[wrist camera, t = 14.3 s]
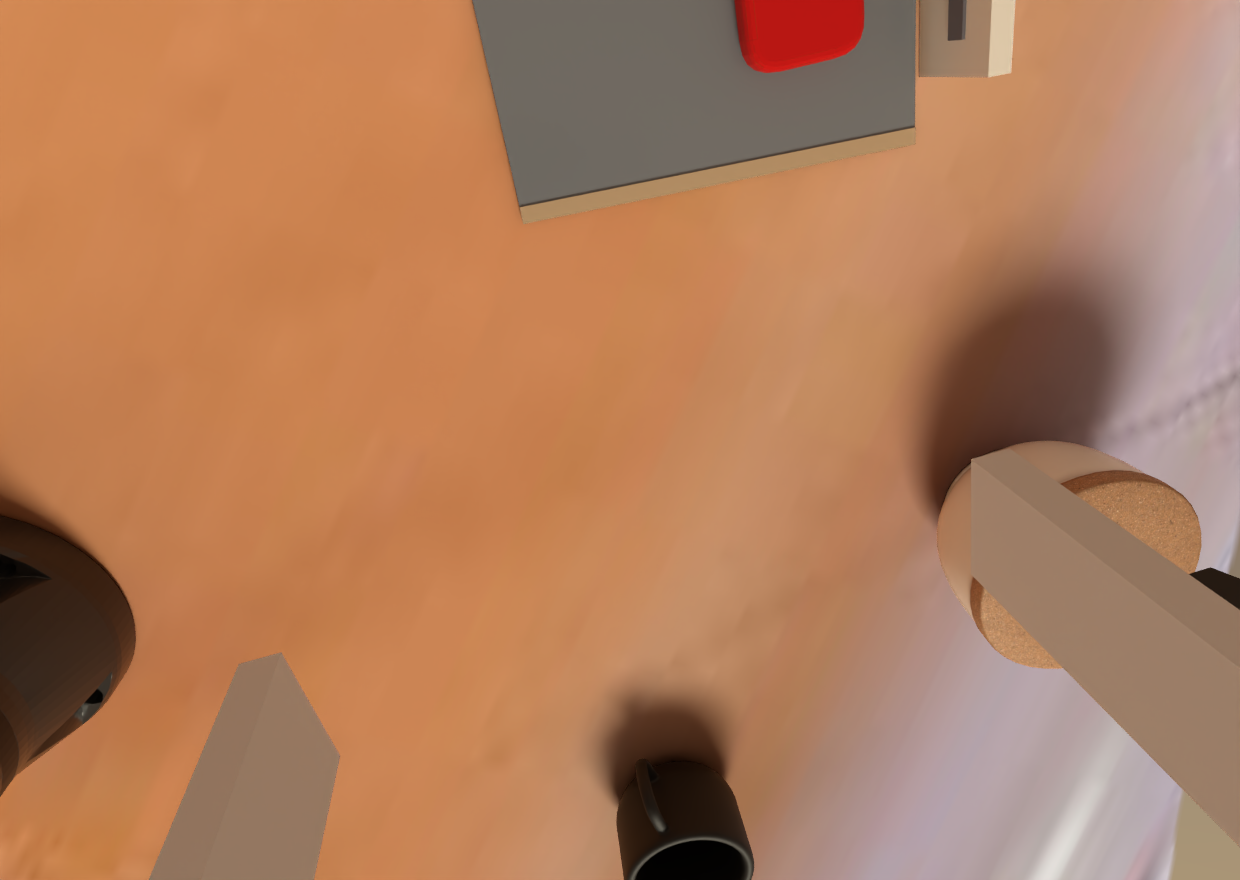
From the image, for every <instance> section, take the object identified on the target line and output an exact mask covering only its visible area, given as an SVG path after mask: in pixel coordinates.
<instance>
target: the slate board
mask: <svg viewBox="0 0 1240 880" xmlns="http://www.w3.org/2000/svg"><path fill="white" fill-rule="evenodd" d="M472 1H473V5H474V9H475V14H476V18H477V22H478V27H479V31H480V36H481V40H482V44H483V49H484V53H485V58H486V62H487V66H488V71H489V75H490V79H491V84H492V88H493V93H494V97H495V101H496V106H497V110H498V114H499V119H500V123H501V128H502V132H503V136H504V141H505V145H506V149H507V154H508V158H509V163H510V167H511V171H512V176H513V180H514V185H515V189H516V193H517V198H518V202H519V206H520V211H521V215H522V220H523V224H526V223H531V222H536V221H541V220H546V219H551V218H556V217H561V216H566V215H571V214H576V213H580V212H585V211H590V210H595V209H600V208H605V207H610V206H615V205H620V204H625V203H630V202H635V201H640V200H644V199H649V198H654V197H659V196H664V195H669V194H674V193H679V192H684V191H689V190H694V189H699V188H703V187H708V186H713V185H718V184H723V183H728V182H733V181H738V180H743V179H748V178H753V177H758V176H763V175H767V174H772V173H777V172H782V171H787V170H792V169H797V168H802V167H807V166H812V165H817V164H822V163H826V162H831V161H836V160H841V159H846V158H851V157H856V156H861V155H866V154H871V153H876V152H881V151H886V150H890V149H895V148H900V147H905V146H910V145H915V144H916V127H915V32H916V0H864V29H863V32H862V36H861V39H860V41H859V42H858V44H857V45H856V47H855V48H854V49H852V50H851V51H850V52H848V53H847V54H846V55H843V56H840V57H837V58H835V59H832V60H827V61H823V62H819V63H815V64H811V65H806V66H802V67H798V68H794V69H790V70H785V71H781V72H773V73H763V72H759V71H755V70H753V69H752V68H751V67H750V66H748V65H747V63H746V62H745V60H744V58H743V56H742V52H741V48H740V43H739V35H738V27H737V18H736V10H735V1H734V0H472Z"/></svg>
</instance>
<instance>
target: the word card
mask: <svg viewBox="0 0 1240 880" xmlns="http://www.w3.org/2000/svg"><path fill="white" fill-rule="evenodd" d="M1014 17H1015V0H920V35H919V77H993V76H998V75H1003V74H1008V73H1011V66H1012V50H1013V33H1014Z"/></svg>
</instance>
